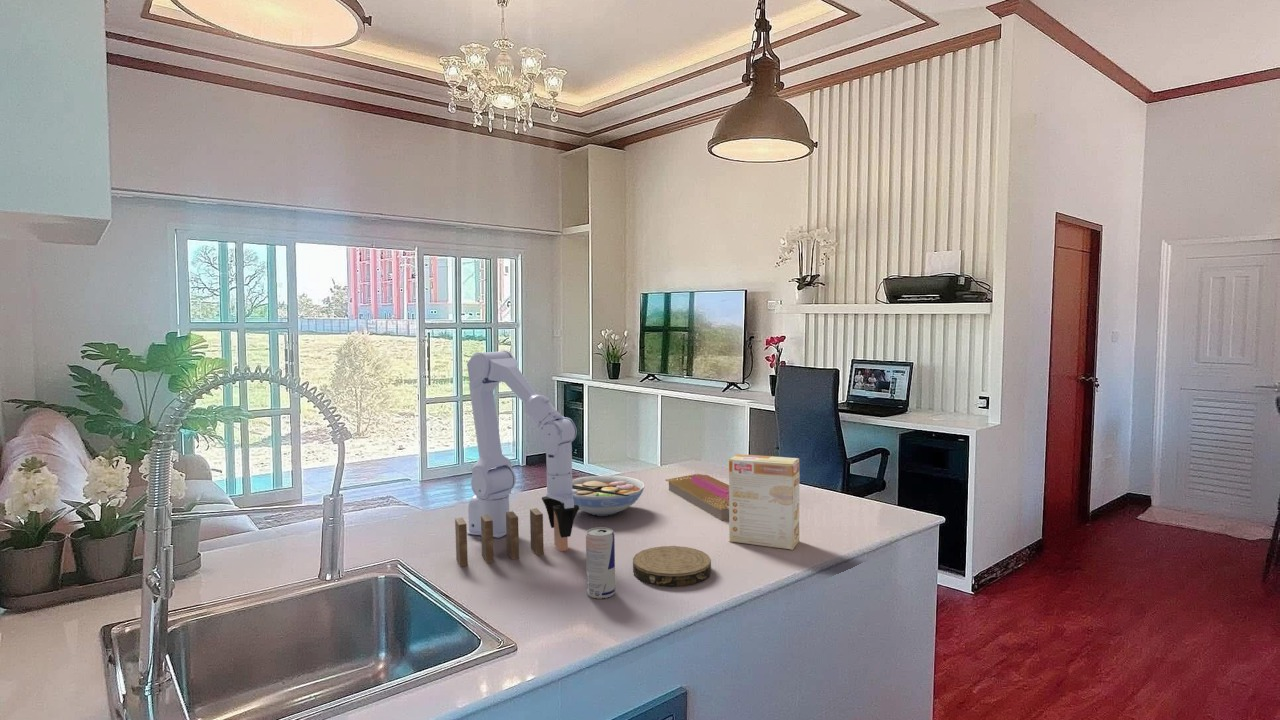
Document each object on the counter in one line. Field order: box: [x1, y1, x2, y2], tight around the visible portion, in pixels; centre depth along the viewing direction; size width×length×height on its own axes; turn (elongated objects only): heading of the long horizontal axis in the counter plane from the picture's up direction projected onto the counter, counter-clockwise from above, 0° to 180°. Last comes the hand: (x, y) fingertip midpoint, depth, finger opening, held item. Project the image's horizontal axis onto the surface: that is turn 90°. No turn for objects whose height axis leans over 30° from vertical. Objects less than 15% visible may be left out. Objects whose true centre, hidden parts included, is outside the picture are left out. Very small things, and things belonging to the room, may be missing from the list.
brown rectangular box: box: [664, 473, 729, 522], centre depth 193 cm, size 35×14×6 cm, turn 21°
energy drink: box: [585, 526, 616, 600], centre depth 130 cm, size 5×5×12 cm
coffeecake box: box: [728, 453, 800, 551], centre depth 158 cm, size 15×7×20 cm, turn 65°
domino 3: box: [505, 510, 520, 560], centre depth 152 cm, size 2×5×9 cm, turn 24°
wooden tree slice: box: [632, 545, 712, 588], centre depth 141 cm, size 16×16×3 cm
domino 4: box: [529, 508, 545, 556], centre depth 154 cm, size 2×5×9 cm, turn 24°
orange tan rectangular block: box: [553, 505, 569, 552], centre depth 156 cm, size 2×5×9 cm, turn 24°
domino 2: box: [480, 514, 495, 564], centre depth 149 cm, size 2×5×9 cm, turn 24°
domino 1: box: [454, 517, 469, 567], centre depth 147 cm, size 2×5×9 cm, turn 23°
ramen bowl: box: [572, 475, 646, 517], centre depth 183 cm, size 25×23×8 cm
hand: (560, 531), depth 156 cm, fingers open, 7 cm apart
